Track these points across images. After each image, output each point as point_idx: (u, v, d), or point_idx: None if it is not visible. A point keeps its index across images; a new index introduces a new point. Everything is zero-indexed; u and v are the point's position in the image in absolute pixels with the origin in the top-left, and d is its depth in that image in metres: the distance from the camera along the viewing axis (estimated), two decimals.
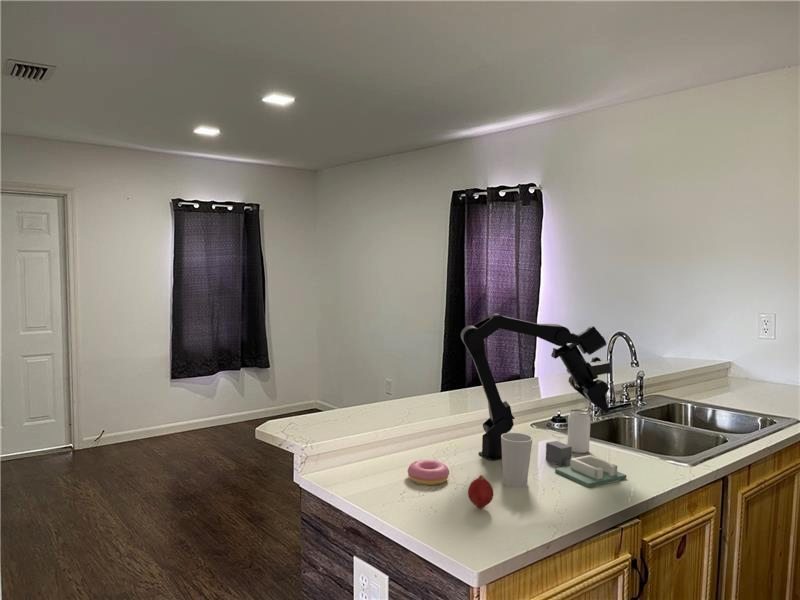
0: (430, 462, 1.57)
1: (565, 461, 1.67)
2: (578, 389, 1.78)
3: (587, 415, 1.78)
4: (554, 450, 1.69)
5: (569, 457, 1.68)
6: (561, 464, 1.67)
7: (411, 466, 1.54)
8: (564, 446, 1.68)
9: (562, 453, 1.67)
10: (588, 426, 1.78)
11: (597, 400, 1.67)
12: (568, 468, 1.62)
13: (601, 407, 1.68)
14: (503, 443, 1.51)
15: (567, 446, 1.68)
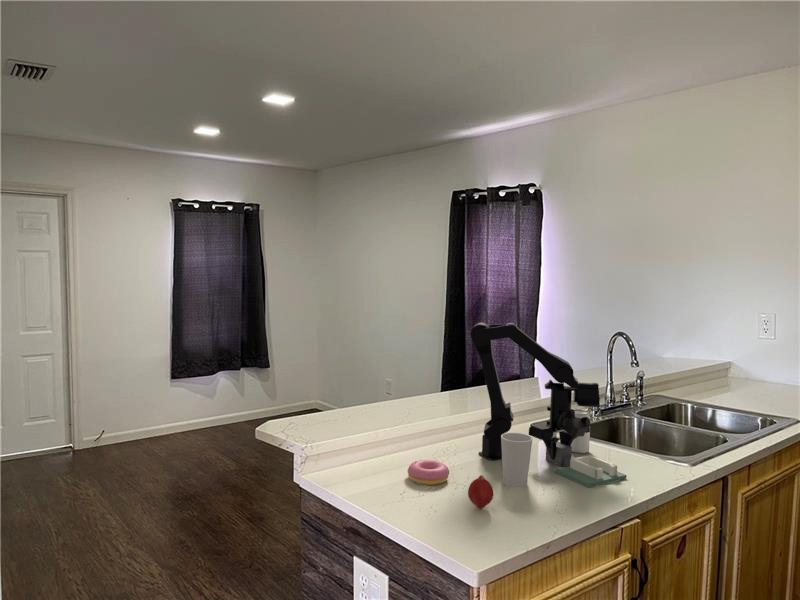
0: (430, 462, 1.57)
1: (565, 461, 1.67)
2: (560, 432, 1.73)
3: (587, 415, 1.78)
4: None
5: (569, 457, 1.68)
6: (561, 464, 1.67)
7: (411, 466, 1.54)
8: (564, 446, 1.68)
9: (562, 453, 1.67)
10: None
11: (547, 441, 1.69)
12: (568, 468, 1.62)
13: (548, 450, 1.69)
14: (503, 443, 1.51)
15: (567, 446, 1.68)
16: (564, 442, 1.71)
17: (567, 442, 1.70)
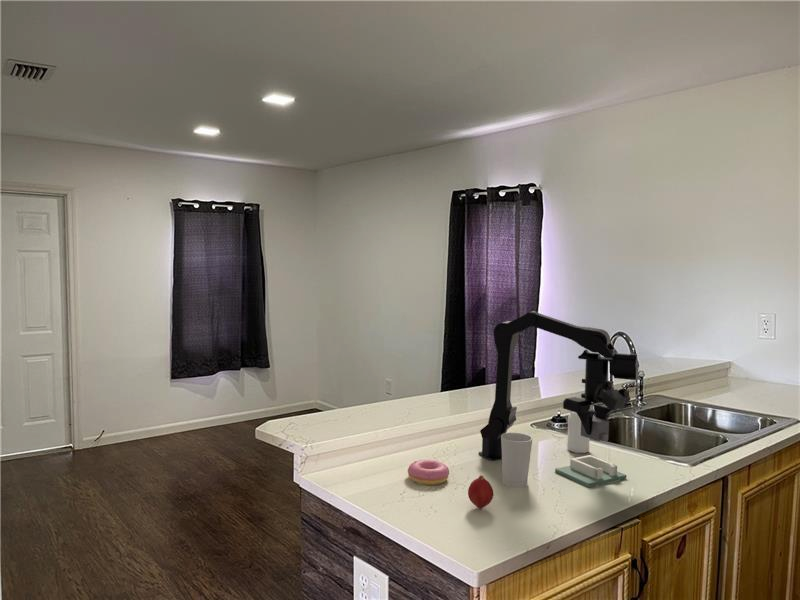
0: (430, 462, 1.57)
1: (602, 436, 1.56)
2: (595, 406, 1.63)
3: None
4: None
5: (606, 432, 1.58)
6: (598, 439, 1.57)
7: (411, 466, 1.54)
8: (601, 420, 1.58)
9: (599, 427, 1.56)
10: None
11: (582, 415, 1.59)
12: (568, 468, 1.62)
13: (583, 424, 1.59)
14: (503, 443, 1.51)
15: (604, 420, 1.58)
16: (600, 416, 1.61)
17: (603, 416, 1.60)
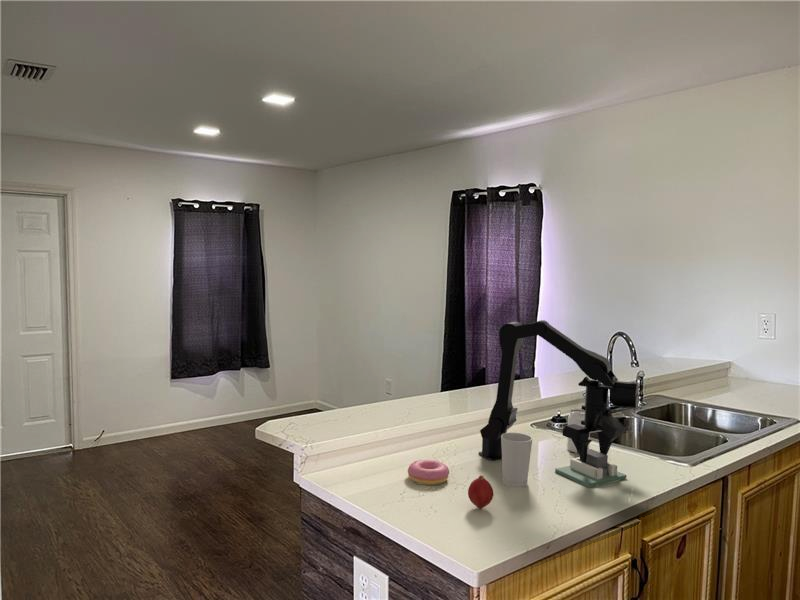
0: (430, 462, 1.57)
1: None
2: (599, 432, 1.64)
3: None
4: (589, 458, 1.59)
5: (605, 466, 1.58)
6: None
7: (411, 466, 1.54)
8: (599, 455, 1.58)
9: (597, 462, 1.57)
10: None
11: (578, 443, 1.58)
12: (568, 468, 1.62)
13: (578, 452, 1.58)
14: (503, 443, 1.51)
15: (603, 455, 1.58)
16: (603, 443, 1.62)
17: (607, 443, 1.61)
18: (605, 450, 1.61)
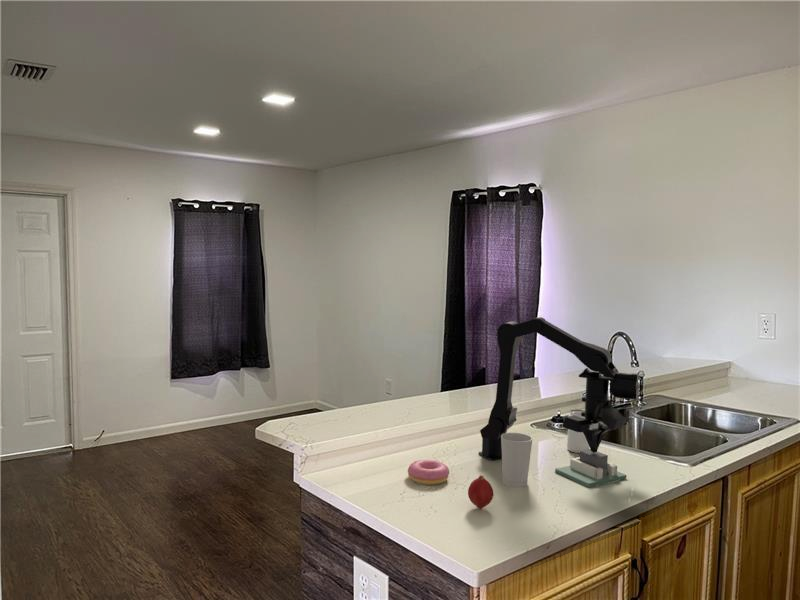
0: (430, 462, 1.57)
1: None
2: None
3: None
4: (589, 458, 1.59)
5: (605, 466, 1.58)
6: None
7: (411, 466, 1.54)
8: (599, 455, 1.58)
9: (597, 462, 1.57)
10: None
11: (587, 433, 1.60)
12: (568, 468, 1.62)
13: (588, 442, 1.60)
14: (503, 443, 1.51)
15: (603, 455, 1.58)
16: None
17: (598, 436, 1.59)
18: None
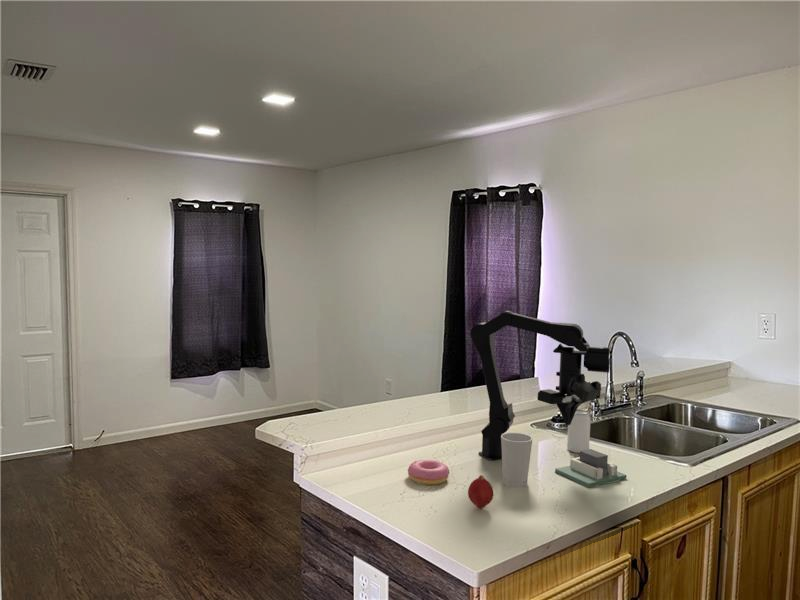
0: (430, 462, 1.57)
1: None
2: None
3: (587, 415, 1.78)
4: (589, 458, 1.59)
5: (605, 466, 1.58)
6: None
7: (411, 466, 1.54)
8: (599, 455, 1.58)
9: (597, 462, 1.57)
10: (588, 426, 1.78)
11: (562, 406, 1.65)
12: (568, 468, 1.62)
13: (562, 415, 1.66)
14: (503, 443, 1.51)
15: (603, 455, 1.58)
16: None
17: (572, 409, 1.65)
18: (570, 416, 1.65)
